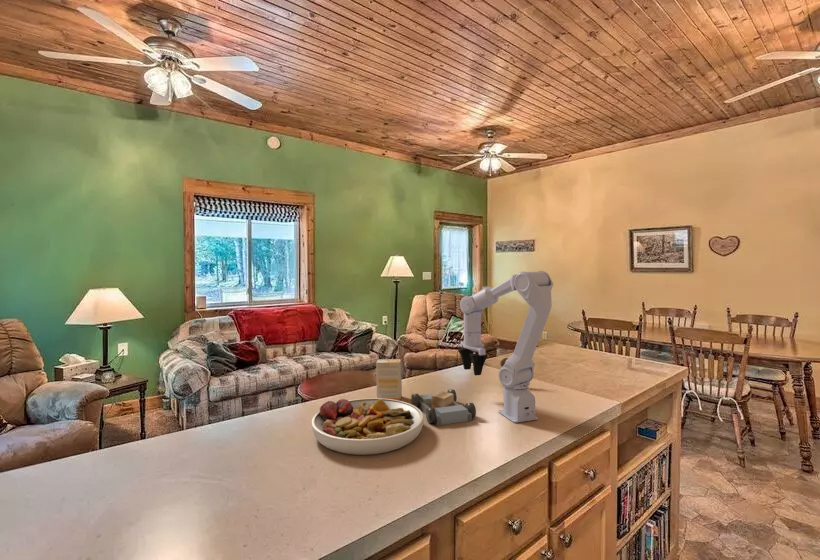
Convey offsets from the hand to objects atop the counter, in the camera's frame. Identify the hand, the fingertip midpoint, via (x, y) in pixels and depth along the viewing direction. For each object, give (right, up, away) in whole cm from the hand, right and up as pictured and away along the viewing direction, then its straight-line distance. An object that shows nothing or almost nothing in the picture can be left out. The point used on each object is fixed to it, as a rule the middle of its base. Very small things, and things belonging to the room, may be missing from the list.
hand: (472, 372), depth 138 cm
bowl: (-32, -11, -26) cm, 43 cm away
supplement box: (-28, -10, +3) cm, 30 cm away
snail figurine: (+16, -9, +16) cm, 24 cm away
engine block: (-11, -10, -10) cm, 18 cm away
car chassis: (-11, -10, -11) cm, 18 cm away
